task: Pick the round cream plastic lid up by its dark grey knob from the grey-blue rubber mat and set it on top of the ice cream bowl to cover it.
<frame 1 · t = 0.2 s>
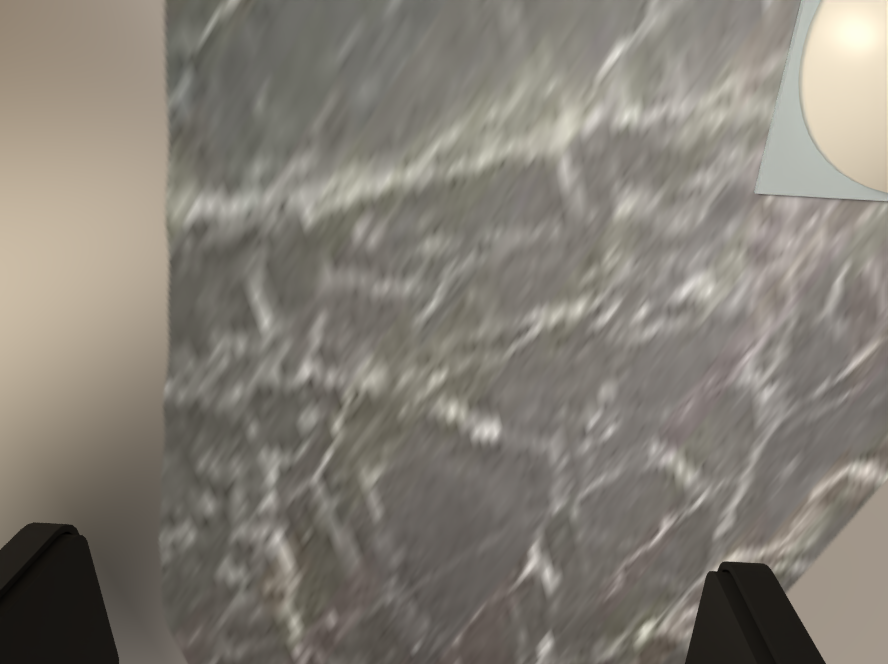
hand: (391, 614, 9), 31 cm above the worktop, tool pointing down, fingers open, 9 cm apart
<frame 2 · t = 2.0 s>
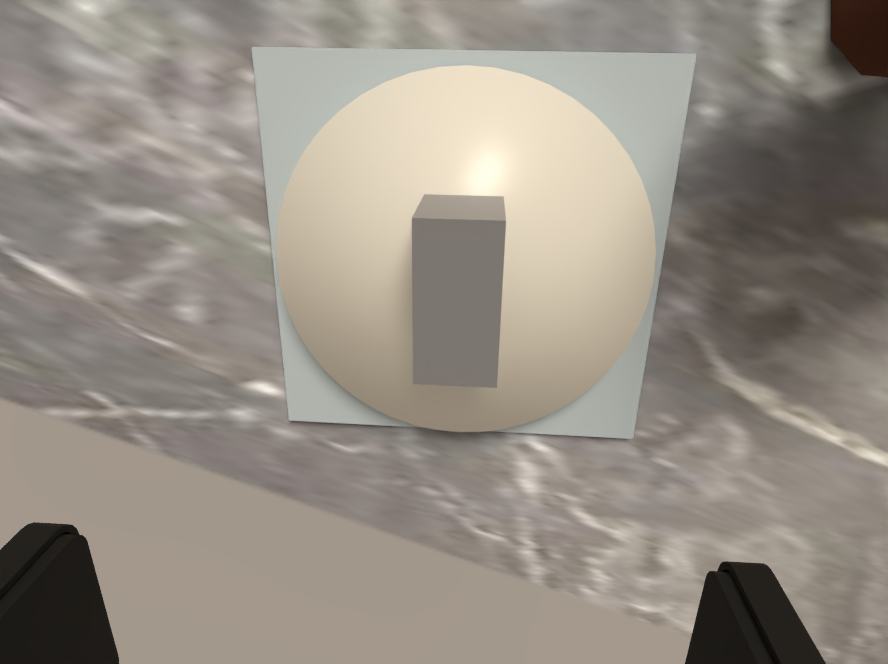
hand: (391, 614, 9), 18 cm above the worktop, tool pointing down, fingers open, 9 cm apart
mat: (463, 261, 25), on the worktop
lid: (462, 263, 25), resting on mat
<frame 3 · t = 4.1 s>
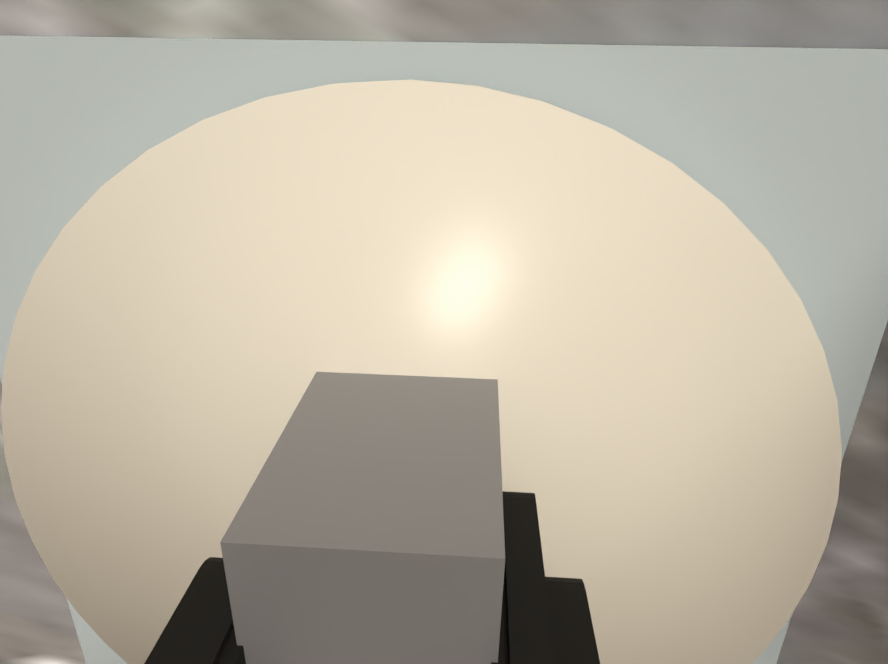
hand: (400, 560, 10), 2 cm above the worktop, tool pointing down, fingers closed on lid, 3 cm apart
mat: (415, 474, 12), on the worktop
lid: (413, 486, 12), resting on mat, touching gripper
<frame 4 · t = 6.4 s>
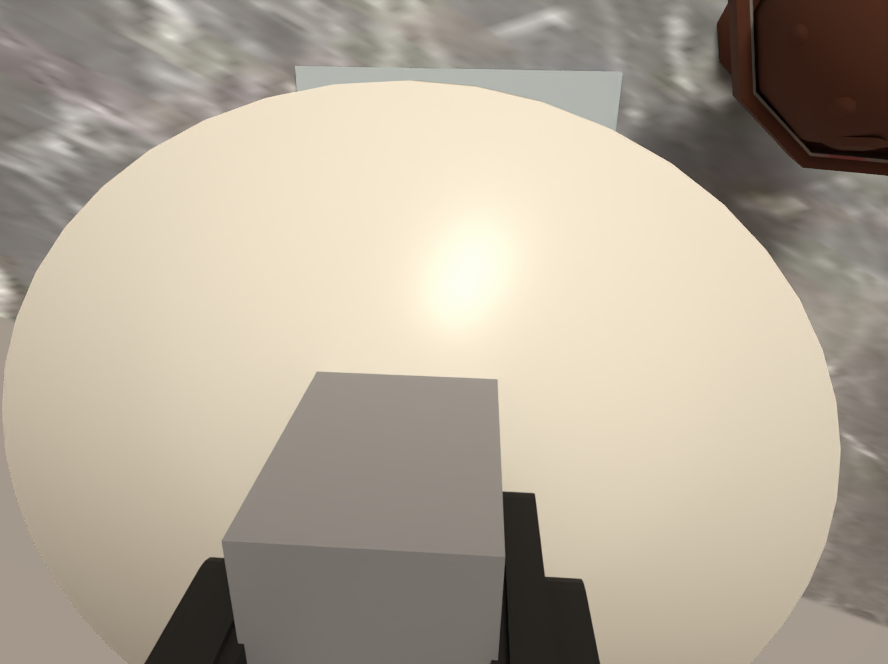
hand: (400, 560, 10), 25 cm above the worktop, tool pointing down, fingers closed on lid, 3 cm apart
mat: (453, 228, 33), on the worktop
ice cream bowl: (774, 28, 29), on the worktop
lid: (413, 486, 12), point 23 cm above the worktop, touching gripper
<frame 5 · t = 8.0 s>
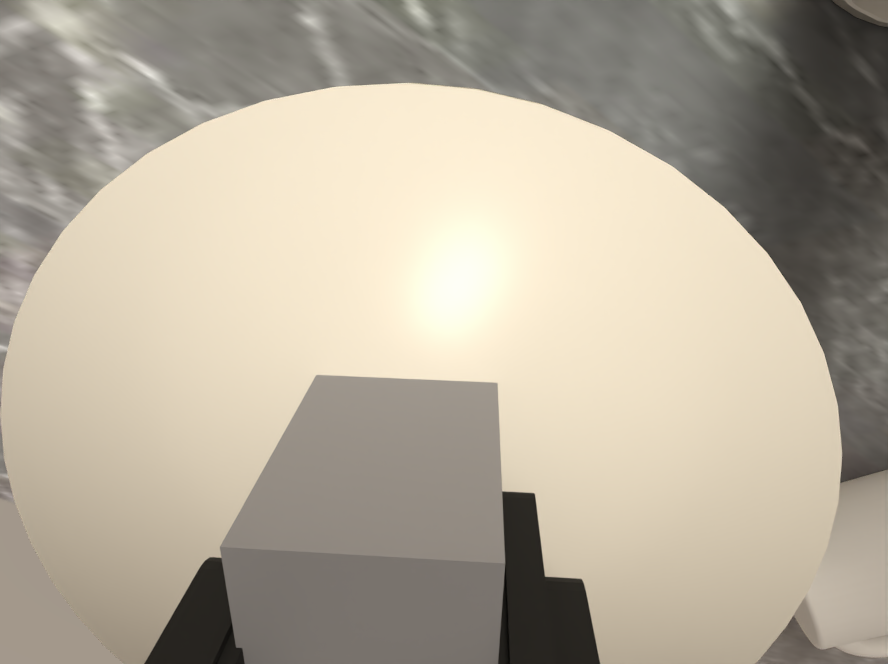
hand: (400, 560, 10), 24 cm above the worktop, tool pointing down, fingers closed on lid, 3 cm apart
mug: (840, 528, 39), on the worktop
lid: (413, 489, 12), point 22 cm above the worktop, touching gripper
when the fingers open (19 cm above the worktop, at t = 9.1 s): lid drops 2 cm, resting on ice cream bowl.
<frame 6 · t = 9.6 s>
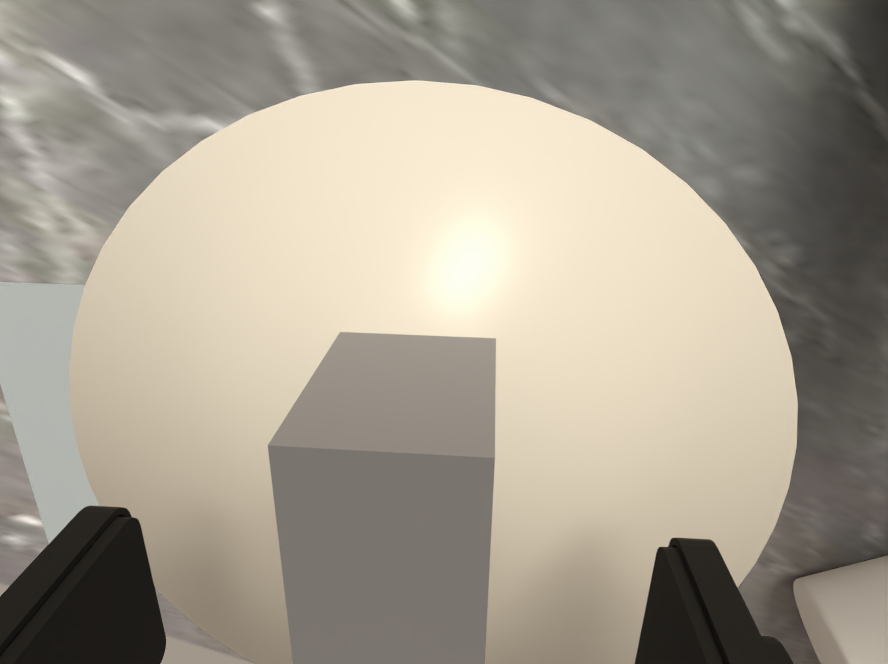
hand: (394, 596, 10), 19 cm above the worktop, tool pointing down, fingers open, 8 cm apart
mat: (164, 430, 32), on the worktop
lid: (423, 441, 14), point 15 cm above the worktop, touching ice cream bowl
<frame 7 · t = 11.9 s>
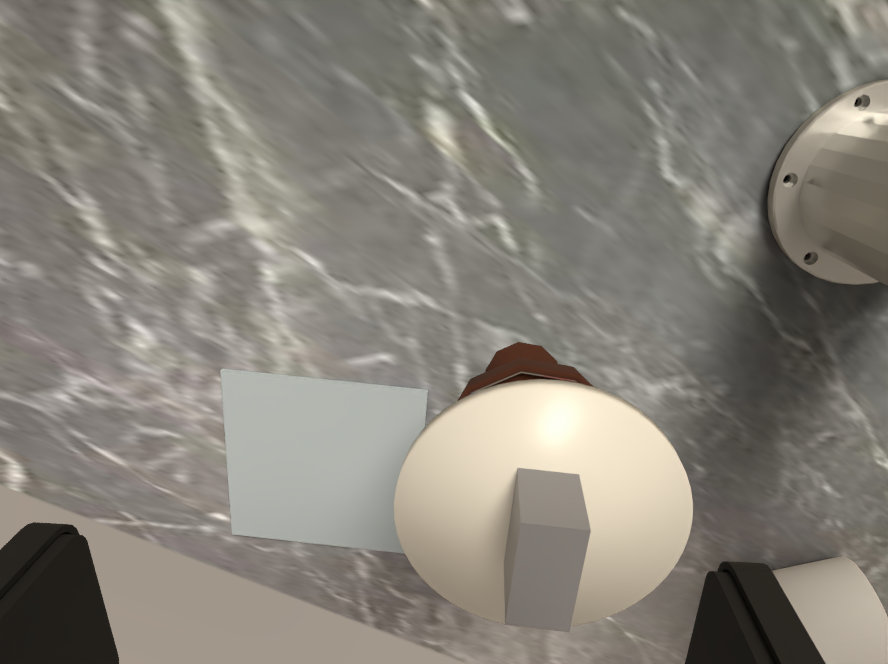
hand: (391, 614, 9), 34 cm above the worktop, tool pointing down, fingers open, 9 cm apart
mug: (781, 598, 53), on the worktop
mat: (324, 465, 50), on the worktop
ice cream bowl: (522, 374, 46), on the worktop, touching lid
lid: (538, 507, 32), point 15 cm above the worktop, touching ice cream bowl
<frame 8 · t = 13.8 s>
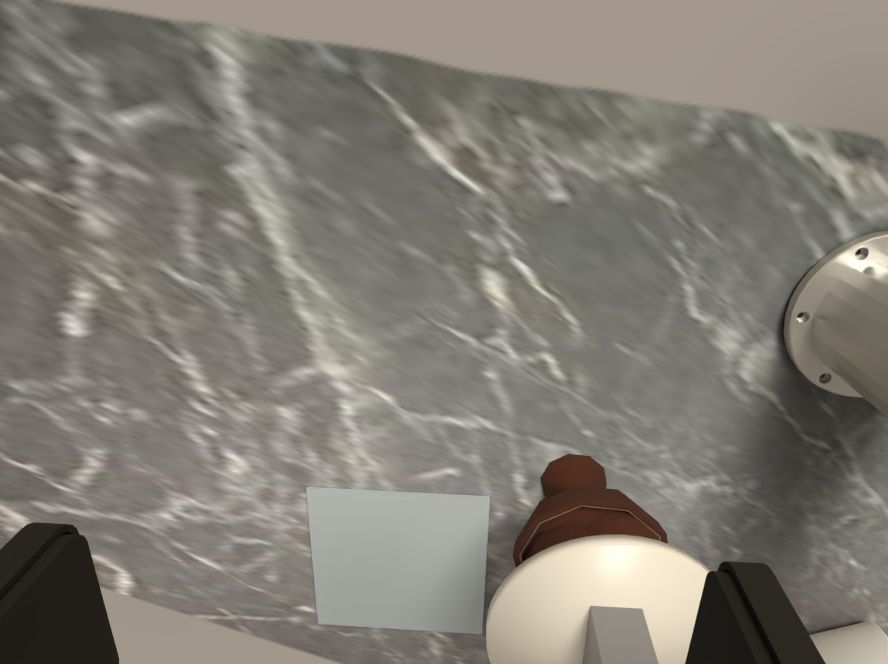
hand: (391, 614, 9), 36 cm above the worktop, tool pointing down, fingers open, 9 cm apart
mug: (817, 656, 58), on the worktop
mat: (399, 562, 56), on the worktop
ice cream bowl: (573, 479, 52), on the worktop, touching lid
lid: (607, 630, 38), point 15 cm above the worktop, touching ice cream bowl
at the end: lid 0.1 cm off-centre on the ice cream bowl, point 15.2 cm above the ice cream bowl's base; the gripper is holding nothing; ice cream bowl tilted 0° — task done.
